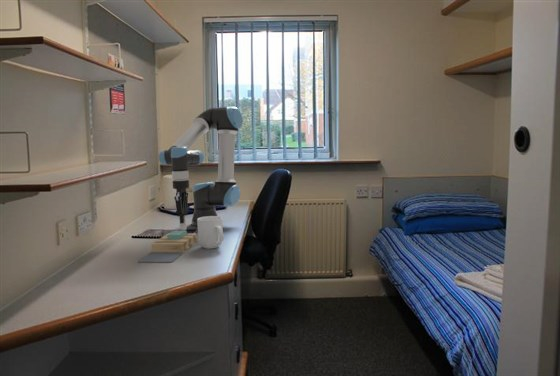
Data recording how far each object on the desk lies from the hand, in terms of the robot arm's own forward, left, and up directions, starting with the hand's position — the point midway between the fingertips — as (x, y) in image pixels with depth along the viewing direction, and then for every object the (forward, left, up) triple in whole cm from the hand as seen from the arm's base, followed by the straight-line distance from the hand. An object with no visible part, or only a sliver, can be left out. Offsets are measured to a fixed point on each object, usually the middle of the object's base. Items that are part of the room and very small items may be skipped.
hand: (183, 229), depth 217 cm
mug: (+12, +17, -6) cm, 22 cm away
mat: (+29, 0, -6) cm, 29 cm away
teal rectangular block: (+9, 0, -2) cm, 9 cm away
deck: (+12, 0, -6) cm, 13 cm away
